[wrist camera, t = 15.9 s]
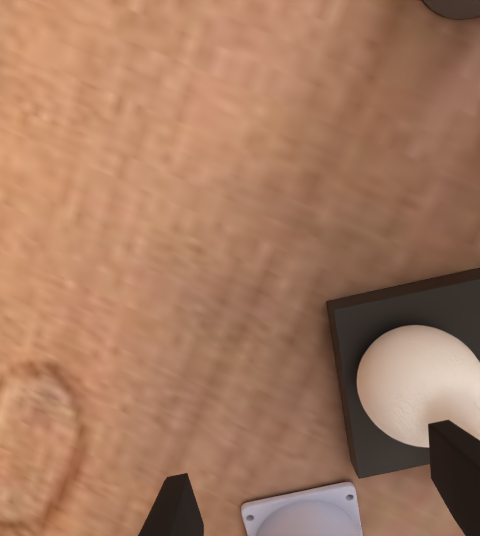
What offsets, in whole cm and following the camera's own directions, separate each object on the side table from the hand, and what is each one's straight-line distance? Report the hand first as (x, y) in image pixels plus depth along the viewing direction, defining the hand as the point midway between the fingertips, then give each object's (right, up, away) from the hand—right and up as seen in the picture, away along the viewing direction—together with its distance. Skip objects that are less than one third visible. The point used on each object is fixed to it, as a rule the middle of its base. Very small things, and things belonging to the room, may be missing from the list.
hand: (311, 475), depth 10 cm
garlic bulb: (+7, 0, +10) cm, 12 cm away
